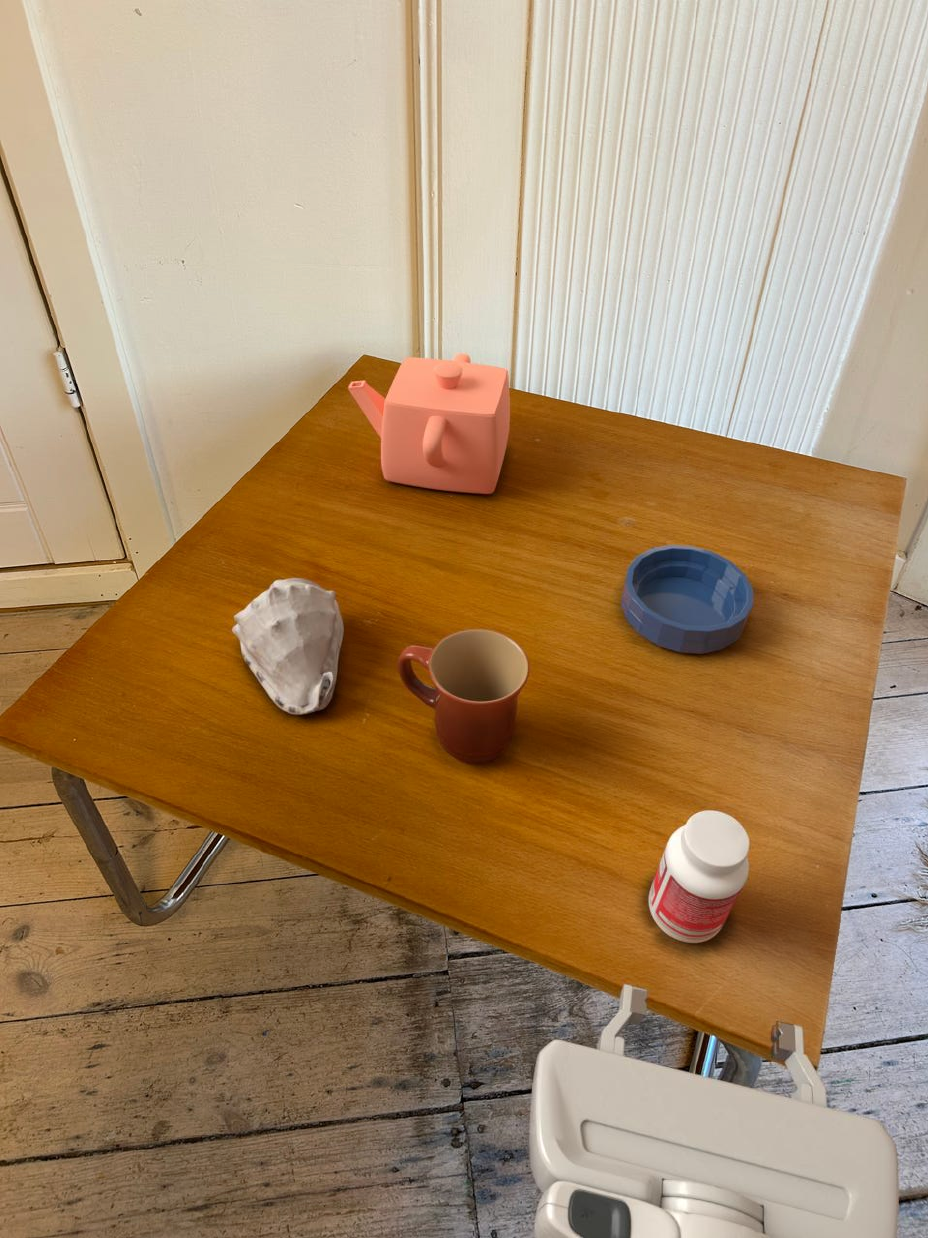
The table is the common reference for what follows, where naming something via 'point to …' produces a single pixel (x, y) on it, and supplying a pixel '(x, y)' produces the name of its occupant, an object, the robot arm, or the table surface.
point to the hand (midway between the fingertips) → (709, 1007)
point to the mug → (470, 690)
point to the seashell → (293, 643)
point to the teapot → (441, 423)
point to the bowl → (686, 598)
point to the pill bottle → (700, 876)
